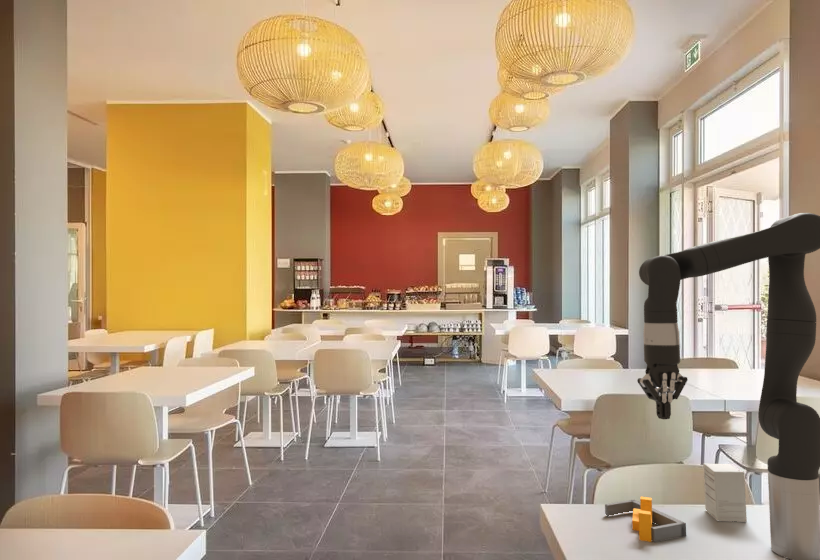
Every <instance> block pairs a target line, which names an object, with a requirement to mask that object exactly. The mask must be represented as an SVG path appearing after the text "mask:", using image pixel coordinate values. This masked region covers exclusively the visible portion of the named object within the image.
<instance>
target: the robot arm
mask: <svg viewBox="0 0 820 560" xmlns="http://www.w3.org/2000/svg"><path fill="white" fill-rule="evenodd" d="M818 250H820V215H818V214H815V213H812V212H799V213H795V214H791V215H788V216H785V217H782V218H779V219H777V220H776V221H774V222H773V223H772V224H771V225H770V227H767V228H764V229H761V230H758V231H754V232H750V233H746V234H743V235H742V234H741V235H737V236H733V237H732V236H731V237H728V238H727V237H726V238H723V239H719V240H714V241H709V242H705V243H702V244H698V245H694V246H692V247H689V248H686V249H683V250H681V251H677V252H673V253H672V252H671V253H667V254H662V255H656V256H653V257H650V258H647V259H646V260H645V261H644V262H642V264H641V265H640V267H639V270H638V275H639V279H640V280H641V281H642V283H643V284H645V285H647V286H648V294H647V298H646V299H645V300H644V305H643V321H644V323H643V324H644V325H643V355H644V356H643V357H644V358H643V360H644V363H645V364H646V367H645V368H646V369H645V375H643V377H642V378H641V377H639V378H637V383H638V385H639V387H640V388H641V389H642V391H643V392H644V393H645V395H646V396H647V398H648V399H649V400H653V401H654V402H655V404H656V405H655V406H656V408H655V409H656V411H655V412H656V413H655V414H656V417H658V419H660V420H669V419H671V416H672V411H671V410H672V405H671V403H672V402H673V401H674V400H678V399H679V397H680V395H681V393H682V391H683V389H684V388H685V386H686V384H687V382H688V377H687V376H684V375H682V374H681V373H680V369H679V366H678V365H679V364H681V346H680V345H681V344H680V331H679V324H678V307H677V306H678V305H677V304H678V299H679V295H680V288H681V287H680V286H681V280H686V279H689V278H698V277H702V276H708V275H711V274H714V273H719V272H721V271H725V270H729V269H732V268H735V267H738V266H742V265H744V264H745V265H746V264H748V263H752V262H755V261H759V260H762V259H766V258H767V260H768V273H769V274H768V275H769V276H768V278H769V279H768V292H767V293H768V295H767V296H768V298H767V314H766V327H765V330H766V331H765V333H766V334H765V336H766V337H765V339H766V341H765V342H766V343H765V355H764V356H765V357H764V360H765V361H764V372H763V373H764V375H763V382H762V389H761V395H760V399H759V400H760V401H759V404H758V414H757V416H758V423H759V426H760V428H761V429H762V431H763V432H764V433H765V434H766V435H768V436H769V437H772V438H774V439H777V440H778V451H777V452H778V453H777V455H772V456H770V457H769V458H767V483H768V484H767V485H768V505H769V506H768V507H769V529H770V530H769V531H770V549H771V550H772V551H773V553H775V554H776V555H779V556H780V557H782V558H786V559H788V560H820V485H819V484H820V482H819V481H820V479H819V470H820V414H819V413H818V412H817V410H816V409H814V408H813V407H812V406H810V405H808V404H805V403H801V402H798V401H797V391H798V380H799V376H800V373H801V371H802V370H803V367H804V366H805V364H806V362H807V361H808V359H809V358H810V356H811V355H812V353H813V350H814V348H815V344H816V340H817V339H816V337H817V313H816V312H817V311H816V308H815V305H814V302H813V299H812V297H811V294H810V292H809V290H808V288H807V285H806V281H805V260H806V255H807V254H808V255H809V254H811V253H814V252H817V251H818Z"/></svg>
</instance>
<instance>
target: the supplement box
mask: <svg viewBox="0 0 820 560" xmlns="http://www.w3.org/2000/svg"><path fill="white" fill-rule="evenodd" d="M745 479H746V477H745V472H744V471H743V470H742V469H740V468H738V467H737V466H736V465H734V464H732V463H706V462H705V463H704V462H703V480H704V482H703V483H704V486H703V487H704V507H705V509H706V510H707V511H708V512H709V513H710V514H711V515H712V516H713V517H714V518H715V519H716V520H719V521H718V522H732V521H733V522H734V521H737V523H738V522H739V523H741V522H742V523H747V522H748V521H747V519H748V518H747V501H746V496H747V495H746V480H745ZM706 510H705V511H706ZM707 511H706V512H707ZM708 512H707V513H708ZM709 513H708V514H709ZM710 514H709V515H710ZM711 515H710V516H711ZM712 516H711V517H712ZM713 517H712V518H713ZM714 518H713V519H714ZM715 519H714V520H715ZM716 520H715V521H716Z"/></svg>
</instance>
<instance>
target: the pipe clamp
mask: <svg viewBox="0 0 820 560" xmlns="http://www.w3.org/2000/svg"><path fill="white" fill-rule="evenodd" d="M639 499H640V500H639V502H640V507H641V509H635V508H634V509H633V513H632V531H636V532H638V536H639V537H638V540H639V541H641V542H648V543H652V542H653V541H652V539H651V527H653V524H654V523H653V521H652V508H653V498H652V497H649V496H648V497H647V496H640V498H639ZM652 523H653V524H652Z"/></svg>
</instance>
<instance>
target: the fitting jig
mask: <svg viewBox="0 0 820 560" xmlns="http://www.w3.org/2000/svg"><path fill="white" fill-rule="evenodd" d="M634 508H635V509H641V507H640V500H639V501H638V500H636V499H629V500H623V501H615V502H611V503H604V512H605V513H604V515H605V514H606V515H607V516H609V515H614V514H618V513H623V512H629V511H633V509H634ZM607 516H606V517H607ZM652 521H653V522H654V523H656V524H658V525H659V526H658V525H656V524H655V525H656V526H652V527H651V539H652V541H651V542H653V543H657V542H662V541H667V540H672V539H673V540H674V539H678V538H683V537H686V536H687V523H686V522H684V521H682V520H680V519H678V518H675V517H674V516H671V515H669V514H667V513H666V512H665V513H664V512H663V511H660V510H658V509H656V508H654V507H652ZM654 523H653V524H654Z"/></svg>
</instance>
